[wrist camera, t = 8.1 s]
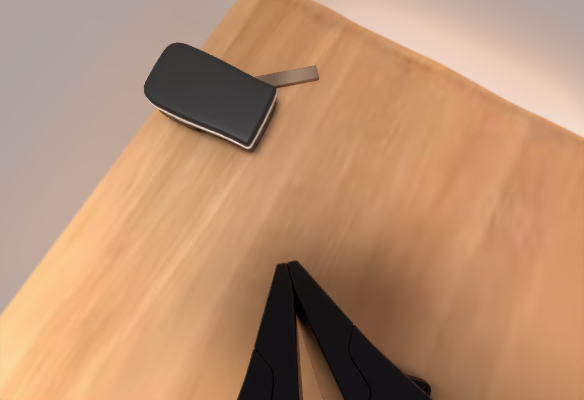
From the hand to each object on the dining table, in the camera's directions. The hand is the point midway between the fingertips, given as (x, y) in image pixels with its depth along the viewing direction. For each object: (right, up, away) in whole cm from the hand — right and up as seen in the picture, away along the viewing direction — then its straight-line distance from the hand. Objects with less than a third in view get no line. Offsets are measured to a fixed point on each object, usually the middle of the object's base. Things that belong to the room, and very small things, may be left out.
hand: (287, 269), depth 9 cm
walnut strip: (-2, +16, +16) cm, 22 cm away
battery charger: (-2, +10, +14) cm, 17 cm away
